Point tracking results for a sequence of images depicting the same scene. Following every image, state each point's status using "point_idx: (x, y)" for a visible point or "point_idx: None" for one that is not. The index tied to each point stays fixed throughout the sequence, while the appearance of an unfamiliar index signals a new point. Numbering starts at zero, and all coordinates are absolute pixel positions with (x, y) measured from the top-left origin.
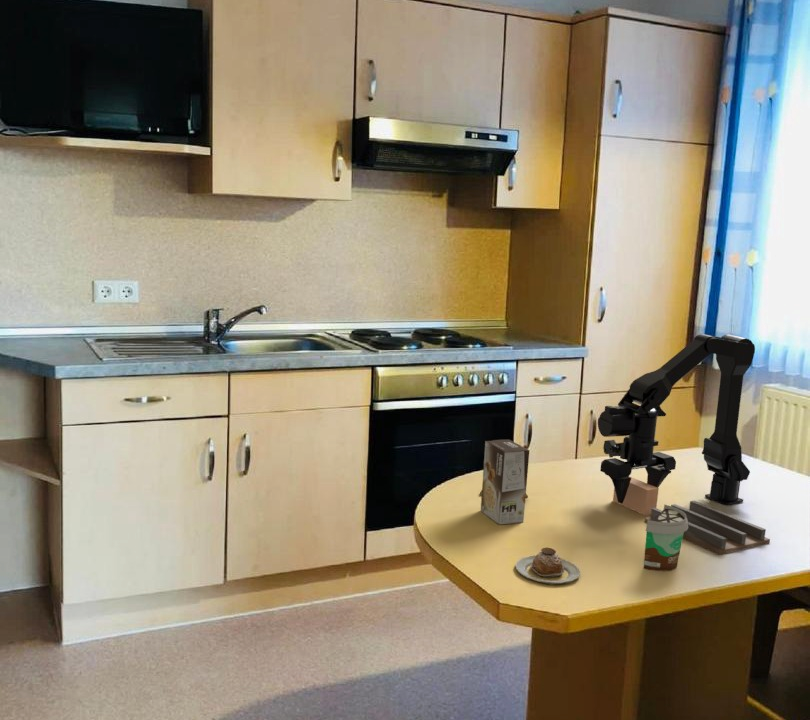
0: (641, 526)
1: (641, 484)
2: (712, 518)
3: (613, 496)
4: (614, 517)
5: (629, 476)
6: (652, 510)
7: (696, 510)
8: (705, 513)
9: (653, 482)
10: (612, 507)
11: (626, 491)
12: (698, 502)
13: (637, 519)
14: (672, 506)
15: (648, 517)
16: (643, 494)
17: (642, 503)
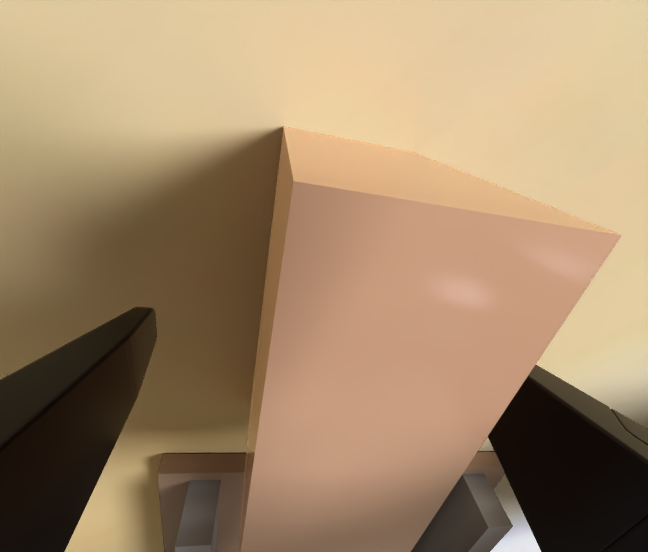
0: None
1: (330, 544)
2: (421, 547)
3: (285, 131)
4: (4, 364)
5: (562, 318)
6: (177, 539)
7: (453, 511)
8: (437, 539)
9: (551, 490)
10: (142, 234)
11: (78, 499)
12: (497, 542)
13: (148, 427)
14: None
15: (183, 475)
16: (240, 527)
17: (247, 446)
